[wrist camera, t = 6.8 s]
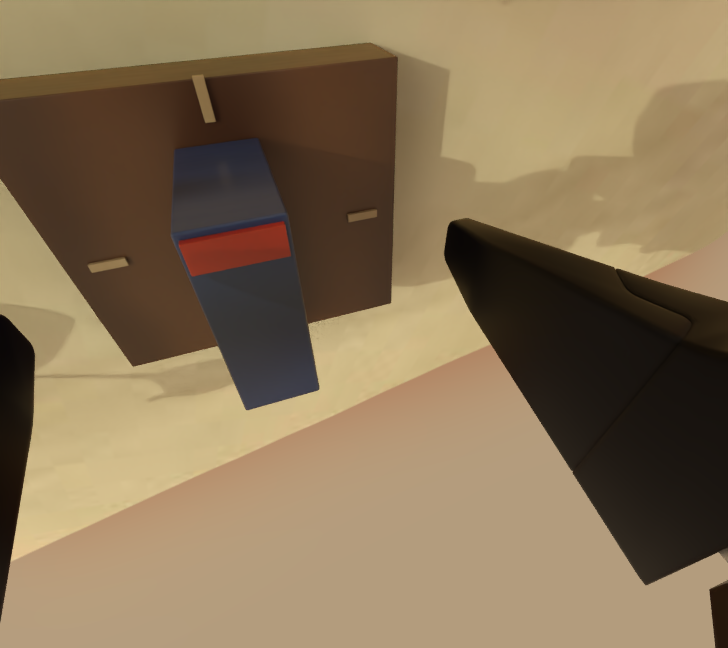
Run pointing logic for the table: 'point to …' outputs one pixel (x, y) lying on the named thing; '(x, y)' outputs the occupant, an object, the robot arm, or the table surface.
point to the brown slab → (196, 128)
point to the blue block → (243, 268)
